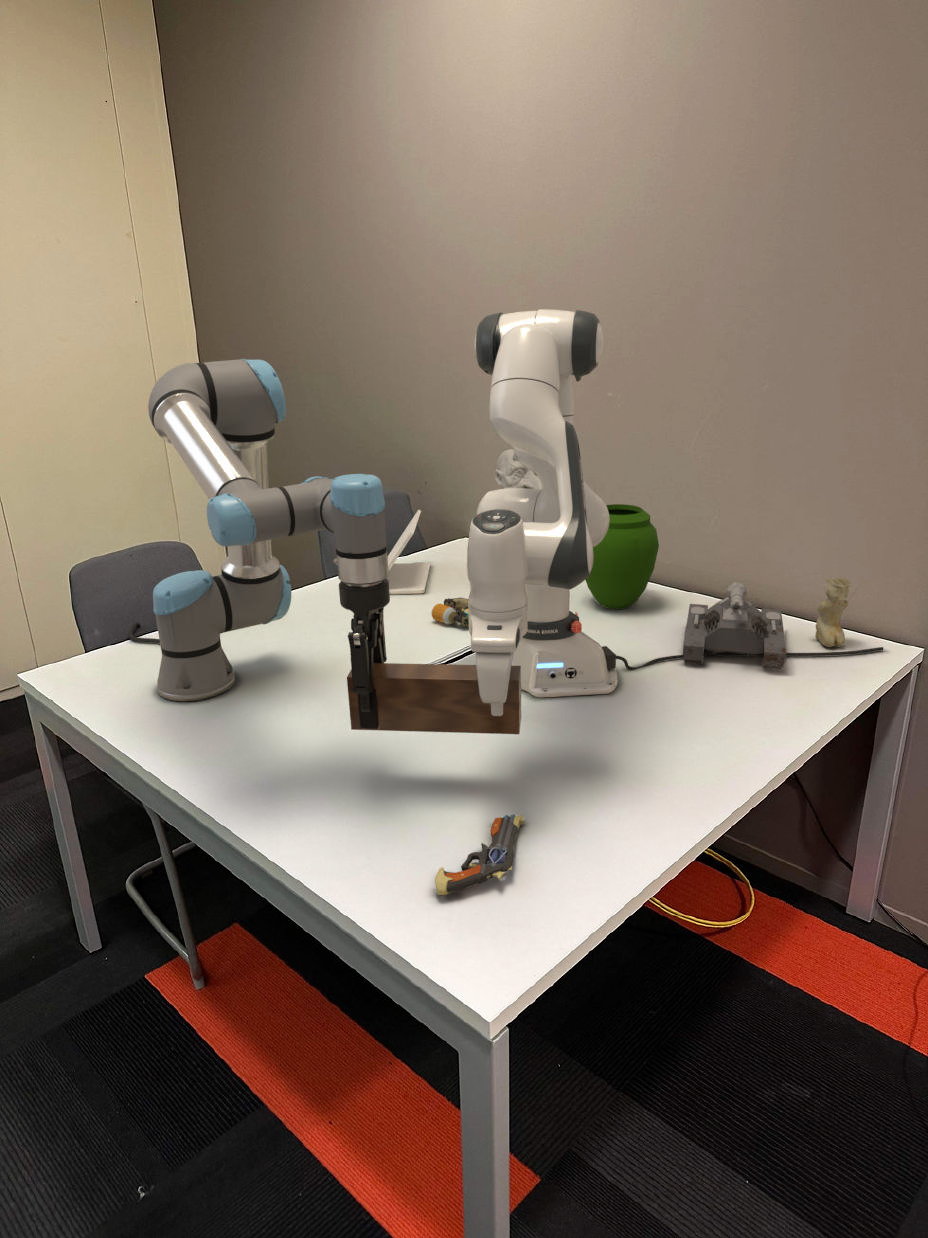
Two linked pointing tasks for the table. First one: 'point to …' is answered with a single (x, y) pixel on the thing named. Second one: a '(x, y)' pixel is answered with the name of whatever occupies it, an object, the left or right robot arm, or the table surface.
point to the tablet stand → (406, 566)
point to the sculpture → (832, 613)
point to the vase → (623, 558)
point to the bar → (436, 700)
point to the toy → (735, 630)
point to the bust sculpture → (515, 473)
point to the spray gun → (452, 611)
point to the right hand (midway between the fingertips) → (499, 703)
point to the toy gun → (484, 858)
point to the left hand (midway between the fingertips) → (373, 717)
